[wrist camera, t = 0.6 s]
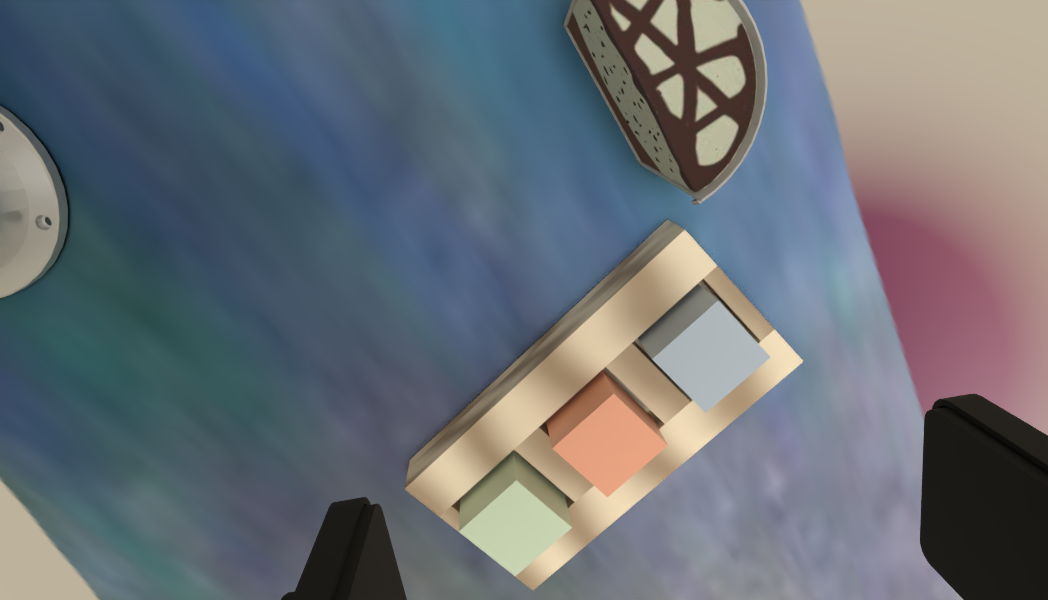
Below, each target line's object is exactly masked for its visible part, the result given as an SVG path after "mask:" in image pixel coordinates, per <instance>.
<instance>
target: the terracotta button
mask: <svg viewBox="0 0 1048 600" xmlns="http://www.w3.org/2000/svg"><path fill="white" fill-rule="evenodd" d="M546 423H547V427H548V432H549V436H550V441H551V446H552V449H553V450H554V451H556V452H557V453H558V454H559V455H560V456H561V457H562V458H563V459H565V460H566V461H567V462H568V463H569V464H570V465H571V466H573V467H574V468H575V469H576V470H577V471H578V472H579V473H580V474H582V475H583V476H584V477H585V478H586V479H587V480H588V481H589V482H591V483H592V484H593V485H594V486H595V487H596V488H597V489H598V490H600V491H601V492H602V493H603V494H604V495H605V496H606V497H609V496H610V495H611V494H612V493H613V492H614V491H616V490H617V489H618V488H619V487H620V486H621V485H623V484H624V483H625V482H626V481H627V480H628V479H630V478H631V477H632V476H633V475H634V474H635V473H637V472H638V471H639V470H640V469H641V468H642V467H644V466H645V465H646V464H647V463H648V462H649V461H651V460H652V459H653V458H654V457H655V456H656V455H658V454H659V453H660V452H661V451H662V450H663V449H665V448H666V447H667V446H668V444H667V442H666V441H665V439H664V437H663V435H662V434H661V432H660V430H659V428H658V426H657V425H656V423H655V421H654V419H653V418H652V417H651V416H650V415H649V414H648V413H647V412H646V411H645V410H644V409H643V408H642V407H641V406H640V405H639V404H638V403H637V402H636V401H635V400H634V399H633V398H632V397H631V396H630V395H629V394H627V393H626V392H625V391H624V390H623V389H622V388H621V387H620V386H619V385H618V384H617V383H616V382H615V381H614V380H613V379H612V378H611V377H610V376H609V375H608V374H607V373H606V372H605V371H604V370H601V371H600V372H599V373H598V374H597V375H596V376H595V377H594V378H593V379H591V380H590V381H589V382H588V383H587V384H586V385H585V386H584V387H583V388H582V389H580V390H579V391H578V392H577V393H576V394H575V395H574V396H573V397H572V398H570V399H569V400H568V401H567V402H566V403H565V404H564V405H563V406H562V407H560V408H559V409H558V410H557V411H556V412H555V413H554V414H553V415H552V416H551V417H549V418H548V419H547V420H546Z"/></svg>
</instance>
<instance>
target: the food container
mask: <svg viewBox="0 0 1048 600" xmlns="http://www.w3.org/2000/svg"><path fill="white" fill-rule="evenodd" d="M563 26H564V28H565V30H566V32H567V33H568V35H569V37H570V39H571V41H572V43H573V44H574V46H575V48H576V50H577V52H578V53H579V55H580V57H581V59H582V61H583V62H584V64H585V66H586V68H587V70H588V72H589V73H590V75H591V77H592V79H593V81H594V82H595V84H596V86H597V88H598V90H599V92H600V93H601V95H602V97H603V99H604V101H605V102H606V104H607V106H608V108H609V110H610V111H611V113H612V115H613V117H614V119H615V121H616V122H617V124H618V126H619V128H620V130H621V131H622V133H623V135H624V137H625V139H626V140H627V142H628V144H629V146H630V148H631V150H632V151H633V153H634V155H635V157H636V159H637V160H638V162H639V164H640V165H641V166H643V167H645V168H646V169H648V170H650V171H651V172H653V173H654V174H656V175H658V176H659V177H661V178H663V179H664V180H666V181H668V182H669V183H671V184H672V185H674V186H676V187H677V188H679V189H681V190H682V191H684V192H686V193H687V194H689V195H690V196H692V197H694V198H695V199H694V200H693V201H691V202H692V204H700V203H702V202H703V201H704V200H706V199H707V198H708V197H710V196H711V195H713V194H714V193H715V192H716V191H717V190H718V189H719V188H720V187H721V186H722V185H724V184H725V183H726V182H727V181H728V180H729V179H730V177H731V176H732V175H733V173H734V172H735V171H736V170H737V168H738V167H739V166H740V165H741V163H742V162H743V160H744V158H745V156H746V155H747V153H748V151H749V150H750V148H751V146H752V144H753V142H754V140H755V137H756V135H757V132H758V130H759V127H760V125H761V121H762V117H763V113H764V109H765V104H766V94H767V63H766V58H765V53H764V48H763V43H762V40H761V37H760V34H759V31H758V29H757V26H756V23H755V21H754V19H753V18H752V16H751V14H750V12H749V10H748V8H747V7H746V5H745V3H744V2H743V1H742V0H572V1H571V4H570V7H569V10H568V13H567V15H566V18H565V21H564V24H563Z"/></svg>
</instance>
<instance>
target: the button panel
mask: <svg viewBox="0 0 1048 600" xmlns="http://www.w3.org/2000/svg"><path fill="white" fill-rule="evenodd" d="M697 284H699V285H700V286H701V287H703V288H704V289H705V290H706V291H708V292H709V293H710V294H711V295H712V296H714V297H715V298H716V299H717V300H719V302H720V303H721V304H722V305H723V306H724V307H725V308H726V309H727V310H728V311H729V312H730V313H731V315H732V316H733V317H734V318H735V319H736V320H737V321H738V322H739V323H740V324H741V325H742V327H743V328H744V329H745V330H746V331H747V332H748V333H749V334H750V335H751V336H752V337H753V339H754V340H755V341H756V342H757V343H758V344H759V345H760V346H761V347H762V348H763V349H764V350H765V352H766V353H767V354H768V355H769V356H770V357H771V358H770V359H768V360H767V361H766V362H765V363H764V364H763V365H761V366H760V367H759V368H758V369H757V370H756V371H754V372H753V373H752V374H751V375H750V376H749V377H747V378H746V379H745V380H744V381H743V382H742V383H740V384H739V385H738V386H737V387H736V388H735V389H733V390H732V391H731V392H730V393H729V394H728V395H726V396H725V397H724V398H723V399H722V400H721V401H719V402H718V403H717V404H716V405H715V406H714V407H712V408H711V409H710V410H709V411H708V412H707V413H705V412H704V411H703V410H702V409H701V408H700V407H699V406H698V405H697V404H696V403H695V402H694V401H693V400H692V399H691V398H690V397H689V396H688V395H687V394H686V393H685V392H684V391H683V390H682V389H681V388H680V387H679V386H678V385H677V384H676V383H675V382H674V381H673V380H672V379H671V378H670V377H669V376H668V375H667V374H666V373H665V372H664V371H663V370H662V369H661V368H660V367H659V366H658V365H657V364H656V363H655V362H654V361H653V360H652V358H651V357H650V355H649V354H648V353H647V351H646V350H645V348H644V347H643V345H642V344H641V342H640V341H639V339H638V337H639V336H640V335H641V334H642V333H644V332H645V331H646V330H647V329H648V328H649V327H650V326H651V325H652V324H654V323H655V322H656V321H657V320H658V319H659V318H660V317H661V316H662V315H663V314H665V313H666V312H667V311H668V310H669V309H670V308H671V307H672V306H673V305H675V304H676V303H677V302H678V301H679V300H680V299H681V298H682V297H683V296H685V295H686V294H687V293H688V292H689V291H690V290H691V289H692V288H693V287H694V286H696V285H697ZM802 362H803V360H802V359H801V358H800V357H799V356H798V355H797V354H796V353H795V351H794V350H793V349H792V348H791V347H790V346H789V345H788V344H787V343H786V341H785V340H784V339H783V338H782V337H781V336H780V335H779V334H778V333H777V331H776V330H775V329H774V328H773V327H772V326H771V325H770V324H769V323H768V321H767V320H766V319H765V318H764V317H763V316H762V315H761V314H760V313H759V311H758V310H757V309H756V308H755V307H754V306H753V305H752V304H751V303H750V301H749V300H748V299H747V298H746V297H745V296H744V295H743V294H742V293H741V291H740V290H739V289H738V288H737V287H736V286H735V285H734V284H733V283H732V281H731V280H730V279H729V278H728V277H727V276H726V275H725V274H724V273H723V271H722V270H721V269H720V268H719V267H718V266H717V265H716V264H715V263H714V261H713V260H712V259H711V258H710V257H709V256H708V255H707V254H706V253H705V251H704V250H703V249H702V248H701V247H700V246H699V245H698V244H697V243H696V241H695V240H694V239H693V238H692V237H691V236H690V235H689V234H688V233H687V231H686V230H685V229H683V228H681V227H680V226H678V225H676V224H675V223H673V222H671V221H670V220H668V219H667V220H666V221H665V222H664V223H663V224H662V225H661V226H660V227H659V228H658V229H656V230H655V231H654V232H653V233H652V234H651V235H650V236H649V237H648V238H647V239H646V240H645V241H644V242H643V243H641V244H640V245H639V246H638V247H637V248H636V249H635V250H634V251H633V252H632V253H631V254H630V255H629V256H628V257H626V258H625V259H624V260H623V261H622V262H621V263H620V264H619V265H618V266H617V267H616V268H615V269H614V270H613V271H611V272H610V273H609V274H608V275H607V276H606V277H605V278H604V279H603V280H602V281H601V282H600V283H599V284H598V285H597V286H595V287H594V288H593V289H592V290H591V291H590V292H589V293H588V294H587V295H586V296H585V297H584V298H583V299H582V300H580V301H579V302H578V303H577V304H576V305H575V306H574V307H573V308H572V309H571V310H570V311H569V312H568V313H567V314H565V315H564V316H563V317H562V318H561V319H560V320H559V321H558V322H557V323H556V324H555V325H554V326H553V327H552V328H550V329H549V330H548V331H547V332H546V333H545V334H544V335H543V336H542V337H541V338H540V339H539V340H538V341H537V342H535V343H534V344H533V345H532V346H531V347H530V348H529V349H528V350H527V351H526V352H525V353H524V354H523V355H522V356H521V357H519V358H518V359H517V360H516V361H515V362H514V363H513V364H512V365H511V366H510V367H509V368H508V369H507V370H506V371H504V372H503V373H502V374H501V375H500V376H499V377H498V378H497V379H496V380H495V381H494V382H493V383H492V384H491V385H489V386H488V387H487V388H486V389H485V390H484V391H483V392H482V393H481V394H480V395H479V396H478V397H477V398H476V399H474V400H473V401H472V402H471V403H470V404H469V405H468V406H467V407H466V408H465V409H464V410H463V411H462V412H461V413H459V414H458V415H457V416H456V417H455V418H454V419H453V420H452V421H451V422H450V423H449V424H448V425H447V426H446V427H445V428H443V429H442V430H441V431H440V432H439V433H438V434H437V435H436V436H435V437H434V438H433V439H432V440H431V441H430V442H428V443H427V444H426V445H425V446H424V447H423V448H422V449H421V450H420V451H419V452H418V453H417V454H416V455H415V456H413V457H412V458H411V459H410V463H409V468H408V473H407V479H406V484H405V490H406V491H408V492H409V493H410V494H412V495H413V496H414V497H415V498H417V499H418V500H419V501H420V502H422V503H423V504H424V505H425V506H427V507H428V508H429V509H431V510H432V511H433V512H434V513H436V514H437V515H438V516H439V517H441V518H442V519H443V520H444V521H446V522H447V523H448V524H450V525H451V526H452V527H453V528H455V529H456V530H457V531H458V532H459V514H460V498H461V497H462V496H463V495H464V494H465V493H466V492H467V491H469V490H470V489H471V488H472V487H473V486H474V485H475V484H476V483H477V482H479V481H480V480H481V479H482V478H483V477H484V476H485V475H486V474H487V473H488V472H490V471H491V470H492V469H493V468H494V467H495V466H496V465H497V464H498V463H500V462H501V461H502V460H503V459H504V458H505V457H506V456H507V455H508V454H510V453H511V452H512V451H513V450H514V451H515V452H516V453H517V454H519V455H520V456H521V457H522V458H523V459H524V460H526V461H527V462H528V463H529V464H530V465H531V466H532V467H534V468H535V469H536V470H537V471H538V472H539V473H541V474H542V475H543V476H544V477H545V478H546V479H547V480H549V481H550V482H551V483H552V484H553V485H554V486H556V487H557V488H558V489H559V490H560V491H561V492H563V493H564V494H565V498H566V502H567V507H568V511H569V516H570V520H571V525H572V528H571V529H570V530H569V531H568V532H567V533H565V534H564V535H563V536H562V537H561V538H560V539H558V540H557V541H556V542H555V543H554V544H552V545H551V546H550V547H549V548H548V549H547V550H545V551H544V552H543V553H542V554H541V555H540V556H538V557H537V558H536V559H535V560H534V561H533V562H531V563H530V564H529V565H528V566H527V567H526V568H524V569H523V570H522V571H521V572H520V573H519V574H517V575H516V576H515V577H517V578H518V579H519V580H520V581H522V582H523V583H524V584H525V585H527V586H528V587H529V588H531V589H532V590H534V589H535V588H536V587H538V586H539V585H540V584H541V583H542V582H543V581H545V580H546V579H547V578H548V577H549V576H551V575H552V574H553V573H554V572H555V571H556V570H558V569H559V568H560V567H561V566H562V565H563V564H565V563H566V562H567V561H568V560H569V559H571V558H572V557H573V556H574V555H575V554H576V553H578V552H579V551H580V550H581V549H582V548H584V547H585V546H586V545H587V544H588V543H589V542H591V541H592V540H593V539H594V538H595V537H597V536H598V535H599V534H600V533H601V532H602V531H604V530H605V529H606V528H607V527H608V526H610V525H611V524H612V523H613V522H614V521H615V520H617V519H618V518H619V517H620V516H621V515H623V514H624V513H625V512H626V511H627V510H628V509H630V508H631V507H632V506H633V505H634V504H636V503H637V502H638V501H639V500H640V499H641V498H643V497H644V496H645V495H646V494H647V493H649V492H650V491H651V490H652V489H653V488H654V487H656V486H657V485H658V484H659V483H660V482H662V481H663V480H664V479H665V478H666V477H667V476H669V475H670V474H671V473H672V472H673V471H675V470H676V469H677V468H678V467H679V466H680V465H682V464H683V463H684V462H685V461H686V460H688V459H689V458H690V457H691V456H692V455H693V454H695V453H696V452H697V451H698V450H699V449H701V448H702V447H703V446H704V445H705V444H706V443H708V442H709V441H710V440H711V439H712V438H714V437H715V436H716V435H717V434H718V433H719V432H721V431H722V430H723V429H724V428H725V427H727V426H728V425H729V424H730V423H731V422H732V421H734V420H735V419H736V418H737V417H738V416H739V415H741V414H742V413H743V412H744V411H745V410H747V409H748V408H749V407H750V406H751V405H752V404H754V403H755V402H756V401H757V400H758V399H760V398H761V397H762V396H763V395H764V394H765V393H767V392H768V391H769V390H770V389H771V388H773V387H774V386H775V385H776V384H777V383H778V382H780V381H781V380H782V379H783V378H784V377H786V376H787V375H788V374H789V373H790V372H791V371H793V370H794V369H795V368H796V367H797V366H799V365H800V364H801V363H802ZM601 370H604V371H605V372H606V373H607V374H608V375H609V376H610V377H611V378H612V379H613V380H614V381H615V382H616V383H617V384H618V385H619V386H620V387H621V388H622V389H623V390H624V391H625V392H626V393H627V394H629V395H630V396H631V397H632V398H633V399H634V400H635V401H636V402H637V403H638V404H639V405H640V406H641V407H642V408H643V409H644V410H645V411H646V412H647V413H648V414H649V415H650V416H651V417H652V418H653V419H654V421H655V423H656V425H657V426H658V428H659V430H660V432H661V434H662V435H663V437H664V439H665V441H666V442H667V444H668V446H667V447H666V448H665V449H663V450H662V451H661V452H660V453H659V454H658V455H656V456H655V457H654V458H653V459H652V460H651V461H649V462H648V463H647V464H646V465H645V466H644V467H642V468H641V469H640V470H639V471H638V472H637V473H635V474H634V475H633V476H632V477H631V478H630V479H628V480H627V481H626V482H625V483H624V484H623V485H621V486H620V487H619V488H618V489H617V490H616V491H614V492H613V493H612V494H611V495H610V496H609V497H606V496H605V495H604V494H603V493H602V492H601V491H600V490H598V489H597V488H596V487H595V486H594V485H593V484H592V483H591V482H589V481H588V480H587V479H586V478H585V477H584V476H583V475H582V474H580V473H579V472H578V471H577V470H576V469H575V468H574V467H573V466H571V465H570V464H569V463H568V462H567V461H566V460H565V459H563V458H562V457H561V456H560V455H559V454H558V453H557V452H556V451H554V450H553V449H552V446H551V441H550V436H549V432H548V427H547V423H546V420H547V419H548V418H549V417H551V416H552V415H553V414H554V413H555V412H556V411H557V410H558V409H559V408H560V407H562V406H563V405H564V404H565V403H566V402H567V401H568V400H569V399H570V398H572V397H573V396H574V395H575V394H576V393H577V392H578V391H579V390H580V389H582V388H583V387H584V386H585V385H586V384H587V383H588V382H589V381H590V380H591V379H593V378H594V377H595V376H596V375H597V374H598V373H599V372H600V371H601ZM463 536H464V535H463ZM477 547H478V546H477ZM482 551H483V550H482ZM487 555H488V554H487ZM501 566H502V565H501ZM506 570H507V569H506Z"/></svg>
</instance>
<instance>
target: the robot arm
mask: <svg viewBox="0 0 1048 600" xmlns="http://www.w3.org/2000/svg"><path fill="white" fill-rule="evenodd" d="M3 126H4V127H3ZM50 220H51V221H50ZM67 227H68V206H67V200H66V195H65V189H64V186H63V183H62V181H61V178H60V175H59V173H58V170H57V168H56V166H55V164H54V162H53V161H52V159H51V157H50V156H49V154H48V152H47V151H46V149H45V147H44V146H43V145H42V144H41V142H40V141H39V140H38V139H37V138H36V136H35V135H34V134H33V133H32V132H31V130H30V129H29V128H28V127H27V126H25V125H24V124H23V123H22V122H21V121H20V120H19V119H18V118H16V117H15V116H14V115H13V114H12V113H11V112H9V111H8V110H6V109H5V108H3V107H2V106H0V298H2V297H5V296H8V295H11V294H13V293H16V292H18V291H20V290H22V289H25V288H27V287H29V286H30V285H31V284H33V283H34V282H36V281H37V280H38V279H40V278H41V277H42V276H43V275H44V274H45V273H46V272H47V271H48V270H49V268H50V267H51V266H52V265H53V264H54V263H55V261H56V259H57V257H58V255H59V253H60V251H61V249H62V247H63V244H64V240H65V236H66V232H67ZM920 544H921V548H922V551H923V554H924V556H925V558H926V559H927V561H928V562H929V564H930V565H931V566H932V567H933V568H934V569H935V570H936V571H937V572H938V573H939V574H940V575H941V576H942V577H943V579H944V580H945V581H946V582H947V583H948V584H949V585H950V586H951V587H952V588H953V589H954V590H955V591H956V592H957V593H958V594H959V595H960V596H961V597H962V598H963V599H964V600H1048V436H1047V435H1046V434H1044V433H1042V432H1041V431H1039V430H1037V429H1036V428H1034V427H1032V426H1031V425H1029V424H1027V423H1026V422H1024V421H1022V420H1021V419H1019V418H1017V417H1016V416H1014V415H1012V414H1010V413H1009V412H1007V411H1005V410H1004V409H1002V408H1000V407H999V406H997V405H995V404H994V403H992V402H990V401H988V400H987V399H985V398H984V397H982V396H979V395H977V394H968V395H962V396H956V397H950V398H944V399H939V400H937V401H936V402H935V403H934V405H933V407H932V410H929V411H927V413H926V414H925V419H924V445H923V473H922V500H921V527H920ZM281 600H407V599H406V595H405V591H404V588H403V584H402V581H401V577H400V573H399V570H398V566H397V562H396V559H395V555H394V551H393V548H392V544H391V540H390V537H389V533H388V529H387V526H386V522H385V518H384V515H383V511H382V508H381V506H380V505H379V504H373V505H370V502H369V500H368V499H367V498H366V497H362V498H356V499H350V500H345V501H339V502H334V503H332V504H331V505H330V507H329V509H328V511H327V514H326V516H325V519H324V521H323V524H322V526H321V529H320V531H319V534H318V536H317V538H316V541H315V543H314V546H313V548H312V551H311V553H310V556H309V558H308V561H307V563H306V566H305V568H304V570H303V573H302V575H301V578H300V580H299V583H298V585H297V588H296V590H295V592H289V593H287V594H286V595H284V596H283V597H282V599H281Z"/></svg>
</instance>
